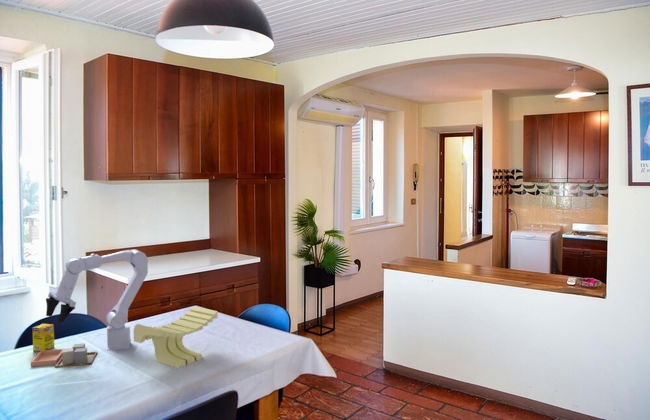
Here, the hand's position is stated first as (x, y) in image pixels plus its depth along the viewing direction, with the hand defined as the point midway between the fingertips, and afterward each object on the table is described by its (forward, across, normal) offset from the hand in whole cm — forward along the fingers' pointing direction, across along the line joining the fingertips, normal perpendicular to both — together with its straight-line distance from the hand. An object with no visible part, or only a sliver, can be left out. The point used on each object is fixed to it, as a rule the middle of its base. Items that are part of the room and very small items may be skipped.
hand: (54, 318), depth 203 cm
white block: (+14, +12, +4) cm, 19 cm away
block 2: (+13, +16, +6) cm, 21 cm away
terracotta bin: (+17, +2, +3) cm, 17 cm away
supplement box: (+17, -11, +10) cm, 23 cm away
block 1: (+12, +11, +9) cm, 19 cm away
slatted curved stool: (+1, +48, +24) cm, 53 cm away
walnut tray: (+13, +13, +7) cm, 20 cm away
